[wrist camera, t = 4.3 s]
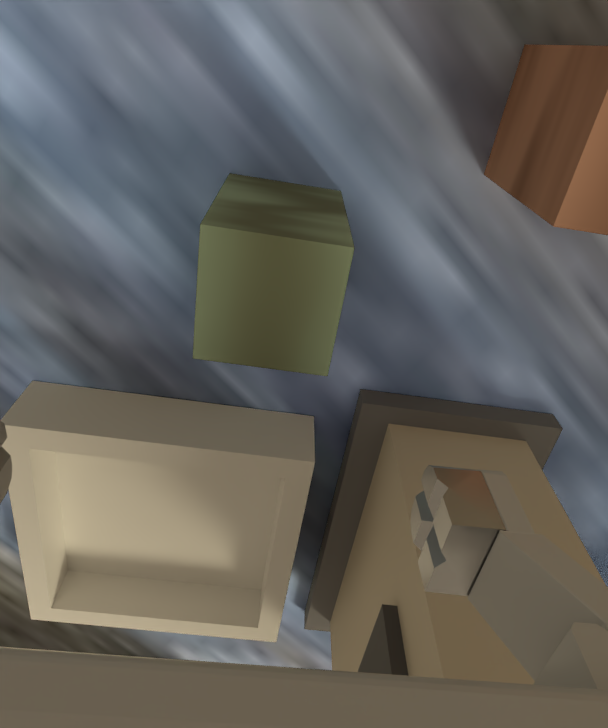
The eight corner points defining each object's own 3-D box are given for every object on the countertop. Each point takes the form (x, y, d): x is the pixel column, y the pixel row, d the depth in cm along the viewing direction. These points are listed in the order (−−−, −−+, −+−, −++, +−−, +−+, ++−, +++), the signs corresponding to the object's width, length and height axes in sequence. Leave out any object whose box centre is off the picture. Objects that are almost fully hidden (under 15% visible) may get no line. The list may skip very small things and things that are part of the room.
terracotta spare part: (643, 66, 19) (794, 77, 13) (590, 192, 22) (699, 249, 16) (524, 44, 19) (625, 46, 13) (483, 174, 21) (553, 226, 15)
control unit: (553, 414, 27) (808, 798, 13) (450, 626, 37) (539, 985, 23) (360, 389, 27) (420, 769, 13) (304, 612, 36) (304, 974, 22)
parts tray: (313, 416, 27) (314, 462, 24) (278, 590, 35) (276, 642, 32) (32, 380, 26) (-3, 424, 23) (55, 567, 34) (31, 619, 31)
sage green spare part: (340, 190, 22) (354, 247, 16) (321, 292, 24) (327, 376, 18) (229, 172, 21) (200, 224, 15) (221, 278, 24) (192, 358, 18)
